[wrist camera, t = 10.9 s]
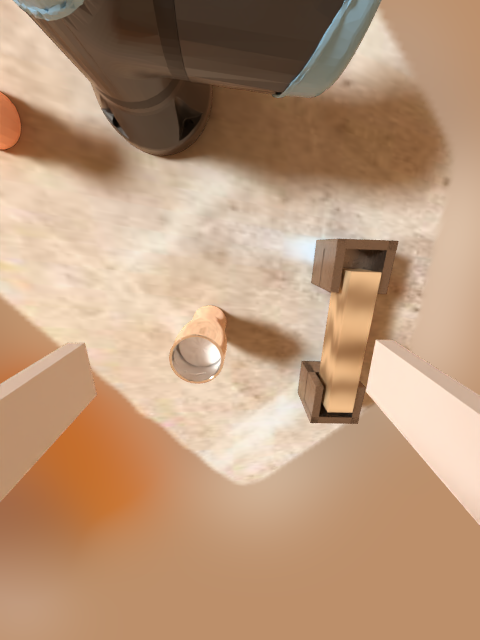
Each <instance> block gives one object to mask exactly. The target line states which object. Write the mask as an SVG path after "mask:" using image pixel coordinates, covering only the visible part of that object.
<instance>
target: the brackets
mask: <svg viewBox="0 0 480 640" xmlns="http://www.w3.org/2000/svg"><path fill="white" fill-rule="evenodd" d="M397 246H398V241H386V240H357V239H326V240H317V241H316V249H315V257H314V265H313V273H312V281H311V283H313V284H315V285H317V286H318V287H321V288H323V289H325V290H327V291H329V292H337V293H339V288H340V281H341V275H342V269H343V268H359V269H366V270H371V271H376V272H381V273H382V274H381V279H380V283H379V288H378V293H377V294H386V293H387V289H388V284H389V280H390V275H391V271H392V266H393V262H394V257H395V253H396V250H397ZM320 364H321V362H319V361H302V362H301V371H300V379H299V387H298V394H299V397H300V399H301V401H302V404H303V406H304V409H305V411H306V414H307V416H308V418H309V421H310V423H347V424H358V421H359V415H360V411H361V406H362V402H363V397H364V393H365V388H366V387H365V386H364V385H363V384H362V383H361V382H360V381H359V384H358V388H357V393H356V398H355V403H354V408H353V412H352V413H345V412H327V410H326V408H325V407H324V405H323V403H322V401H321V400H322V394H323V388H324V386H323V385H322V383H321V381H320V380H319V371H320Z"/></svg>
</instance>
